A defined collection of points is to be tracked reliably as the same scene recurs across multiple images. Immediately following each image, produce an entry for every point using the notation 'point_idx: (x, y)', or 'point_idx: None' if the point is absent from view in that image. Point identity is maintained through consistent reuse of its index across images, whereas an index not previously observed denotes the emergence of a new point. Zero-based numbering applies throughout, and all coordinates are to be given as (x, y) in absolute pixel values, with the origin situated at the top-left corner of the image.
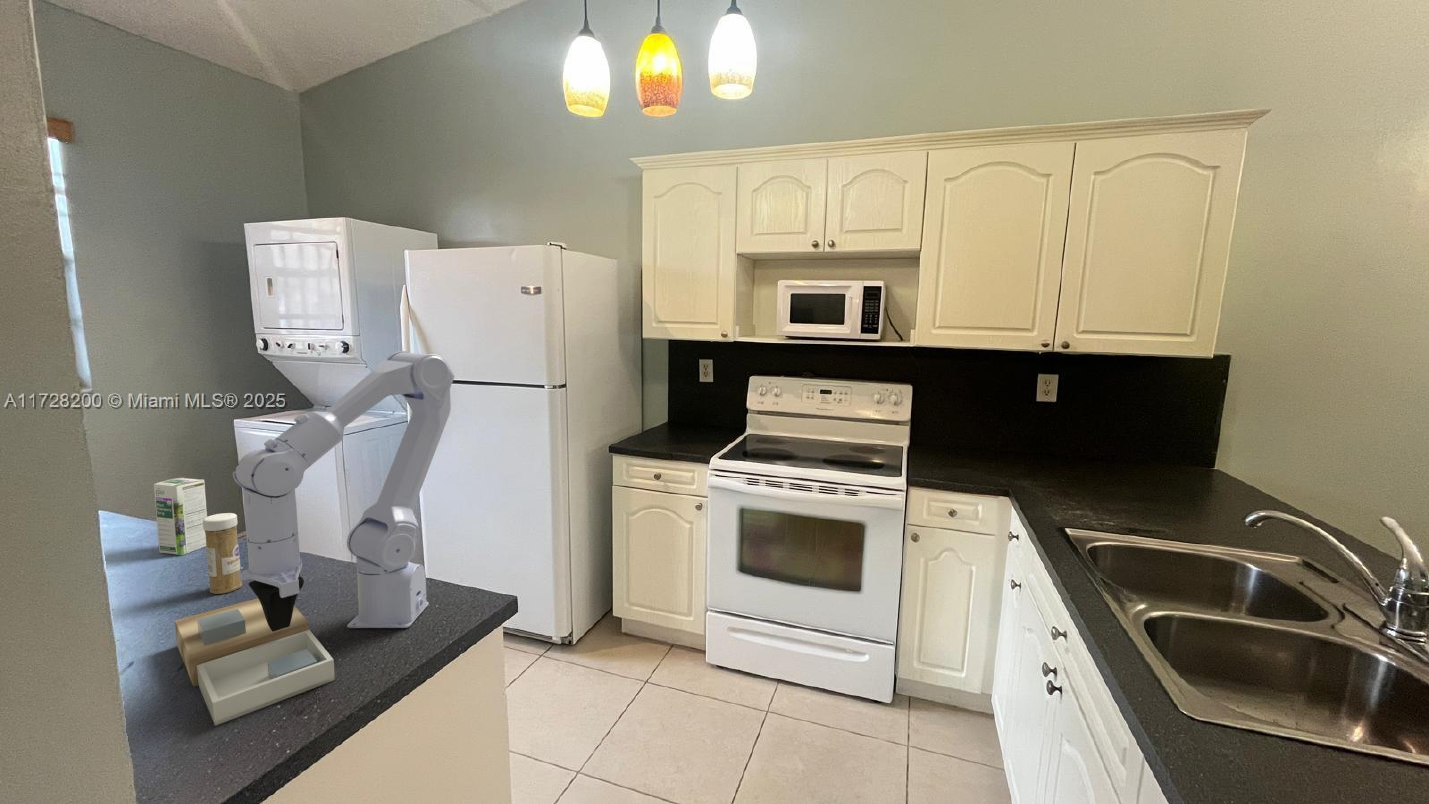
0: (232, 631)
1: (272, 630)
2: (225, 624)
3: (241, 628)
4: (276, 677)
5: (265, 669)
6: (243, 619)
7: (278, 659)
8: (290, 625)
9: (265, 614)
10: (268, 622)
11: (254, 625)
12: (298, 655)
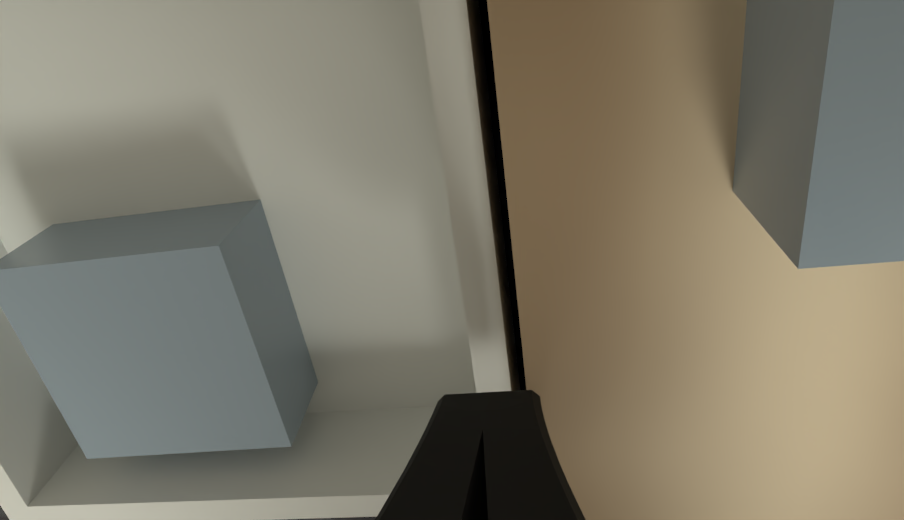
0: (764, 88)
1: (442, 403)
2: (856, 38)
3: (763, 180)
4: (6, 261)
5: (362, 194)
6: (823, 255)
7: (220, 307)
8: (583, 476)
9: (489, 517)
10: (411, 460)
11: (854, 270)
12: (217, 401)
